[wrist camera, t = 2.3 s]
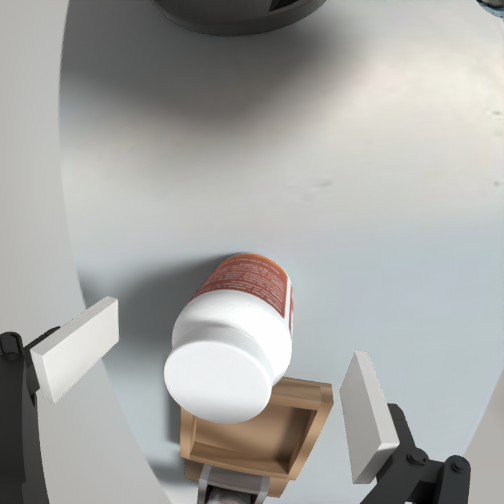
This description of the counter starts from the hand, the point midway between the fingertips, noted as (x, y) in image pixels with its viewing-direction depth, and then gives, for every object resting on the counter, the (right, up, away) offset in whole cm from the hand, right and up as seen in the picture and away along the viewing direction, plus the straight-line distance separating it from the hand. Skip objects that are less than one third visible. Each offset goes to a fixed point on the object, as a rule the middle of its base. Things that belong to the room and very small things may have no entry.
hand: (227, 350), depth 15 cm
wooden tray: (0, -14, +11) cm, 18 cm away
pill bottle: (+1, +2, +7) cm, 8 cm away
